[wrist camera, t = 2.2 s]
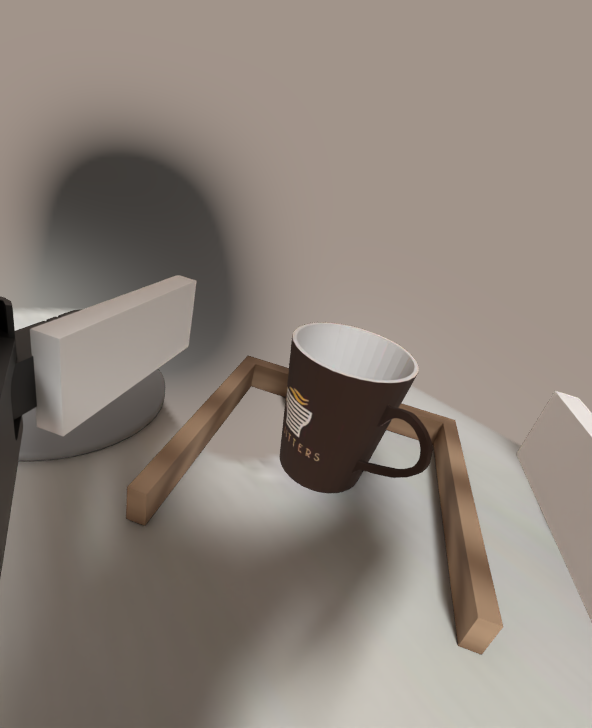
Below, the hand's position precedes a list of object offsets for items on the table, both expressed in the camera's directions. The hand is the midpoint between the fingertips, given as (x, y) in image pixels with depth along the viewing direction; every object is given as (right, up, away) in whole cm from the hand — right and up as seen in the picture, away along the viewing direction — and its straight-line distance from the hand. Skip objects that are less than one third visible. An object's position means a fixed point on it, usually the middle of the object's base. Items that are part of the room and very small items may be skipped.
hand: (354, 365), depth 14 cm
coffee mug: (0, -8, +15) cm, 17 cm away
